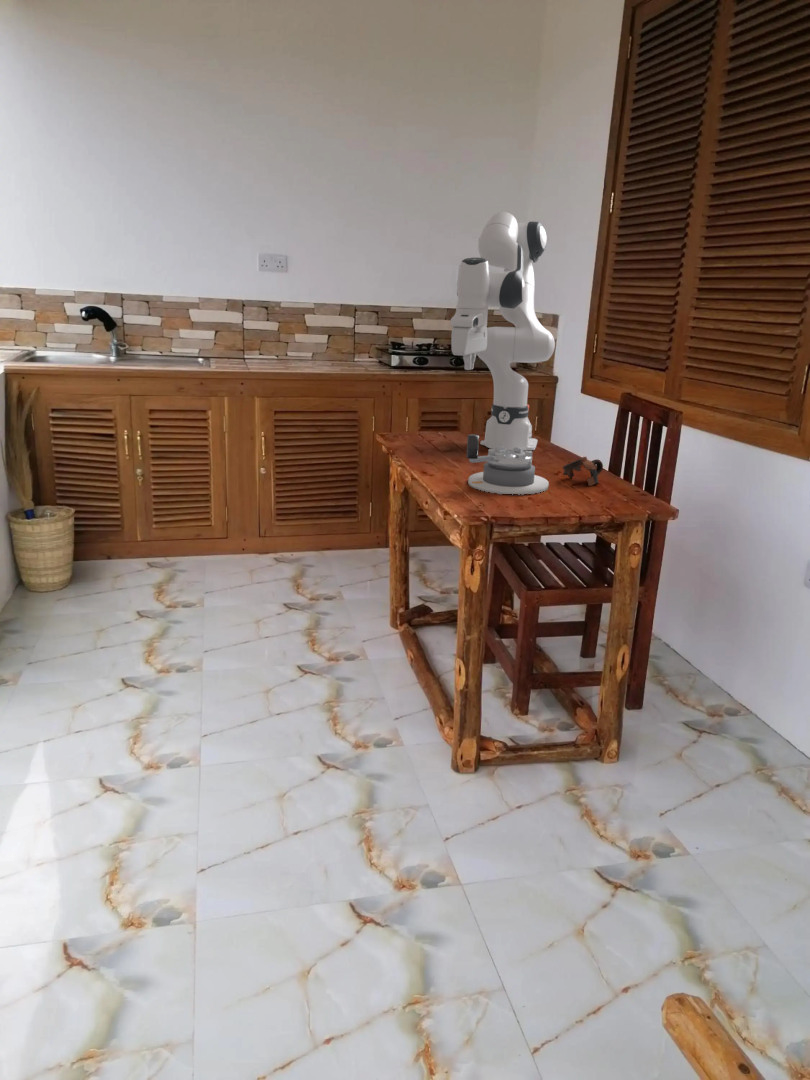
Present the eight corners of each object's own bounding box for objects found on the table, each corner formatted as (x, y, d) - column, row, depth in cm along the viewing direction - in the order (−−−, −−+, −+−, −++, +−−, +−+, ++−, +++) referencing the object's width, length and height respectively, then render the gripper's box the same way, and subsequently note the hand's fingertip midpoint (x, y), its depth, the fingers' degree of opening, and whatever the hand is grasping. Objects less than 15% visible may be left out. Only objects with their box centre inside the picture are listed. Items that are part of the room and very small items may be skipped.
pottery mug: (584, 490, 221) (571, 462, 221) (564, 496, 230) (553, 470, 229) (615, 474, 226) (603, 447, 226) (595, 481, 234) (584, 456, 234)
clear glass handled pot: (455, 464, 220) (457, 431, 217) (515, 458, 228) (518, 427, 225) (478, 474, 210) (480, 440, 207) (540, 468, 218) (542, 435, 215)
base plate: (483, 471, 236) (484, 454, 234) (556, 480, 228) (558, 462, 226) (456, 488, 217) (457, 469, 215) (536, 499, 208) (537, 479, 207)
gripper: (473, 317, 235) (470, 365, 239) (448, 320, 217) (445, 372, 221) (493, 318, 232) (490, 366, 237) (470, 321, 214) (467, 373, 219)
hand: (469, 369), depth 229 cm, fingers closed
